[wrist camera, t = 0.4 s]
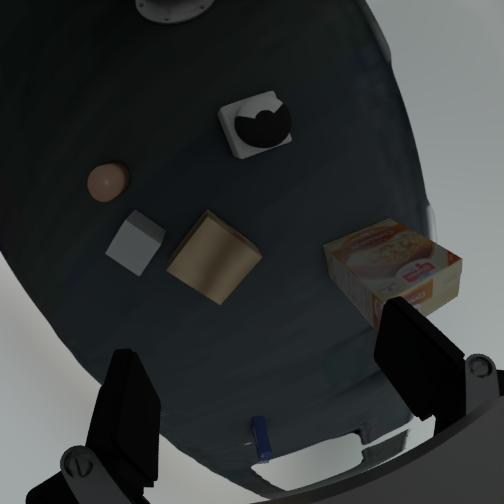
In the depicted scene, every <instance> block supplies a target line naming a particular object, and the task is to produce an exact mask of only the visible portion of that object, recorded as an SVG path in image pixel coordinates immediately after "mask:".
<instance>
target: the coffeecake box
mask: <svg viewBox="0 0 504 504" xmlns="http://www.w3.org/2000/svg"><path fill="white" fill-rule="evenodd" d="M323 248H324V252H325V256H326V262H327V267H328V272H329V276H330V278H331V279H332V280H333V281H334V282H335V283H336V284H337V286H338V287H339V288H340V289H341V290H342V291H343V292H344V294H345V295H346V296H347V297H348V298H349V299H350V301H351V302H352V303H353V304H354V305H355V306H356V308H357V309H358V310H359V311H360V312H361V313H362V315H363V316H364V317H365V318H366V319H367V321H368V322H369V323H370V324H371V325H372V327H373V328H374V329H375V330H376V331H377V333H378V331H379V326H380V321H381V315H382V309H383V306H384V304H386V301H387V300H388V299H391V298H394V297H397V296H401V297H403V298H404V299H405V300H406V301H408V302H409V303H410V304H411V305H412V306H413V307H414V308H416V309H417V310H418V311H419V312H420V313H421V314H422V315H423V316H424V317H426V316H428V315H429V314H431V313H432V312H434V311H435V310H437V309H438V308H440V307H442V306H443V305H445V304H446V303H447V302H449V301H451V300H452V299H454V298H455V297H457V296H458V291H459V283H460V275H461V272H462V258H460V257H458V256H457V255H455V254H453V253H452V252H450V251H448V250H447V249H445V248H443V247H441V246H440V245H438V244H436V243H434V242H433V241H431V240H429V239H427V238H426V237H424V236H422V235H420V234H418V233H416V232H415V231H413V230H411V229H409V228H407V227H405V226H403V225H401V224H399V223H397V222H395V221H394V220H392V219H390V218H388V219H385V220H383V221H381V222H378V223H376V224H373V225H371V226H368V227H366V228H364V229H361V230H359V231H356V232H354V233H351V234H349V235H347V236H344V237H342V238H339V239H337V240H334V241H332V242H329V243H327V244H324V245H323Z"/></svg>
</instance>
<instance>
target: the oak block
mask: <svg viewBox="0 0 504 504" xmlns="http://www.w3.org/2000/svg"><path fill="white" fill-rule="evenodd" d="M261 258H262V256H261V254H260V252H259V250H258V248H257V246H256V245H254V244H253V243H252V242H250V241H249V240H248V239H246V238H245V237H244V236H243V235H241V234H240V233H239V232H237V231H236V230H235V229H233V228H232V227H231V226H229V225H228V224H227V223H225V222H224V221H223V220H221V219H220V218H219V217H217V216H216V215H215V214H213V213H212V212H211V211H209V210H208V209H207V210H206V211H205V212H204V213H203V215H202V216H201V217H200V218H199V220H198V221H197V222H196V223H195V225H194V226H193V227H192V229H191V230H190V231H189V232H188V234H187V235H186V236H185V238H184V239H183V240H182V242H181V243H180V244H179V246H178V247H177V248H176V249H175V251H174V252H173V253H172V255H171V256H170V258H169V261H168V266H167V270H166V271H168V272H169V273H171V274H172V275H174V276H175V277H177V278H178V279H180V280H181V281H183V282H185V283H186V284H188V285H189V286H191V287H192V288H194V289H196V290H197V291H199V292H200V293H202V294H203V295H205V296H207V297H208V298H210V299H211V300H213V301H215V302H216V303H218V304H220V305H221V303H222V302H223V301H224V300H225V299H226V298H227V297H228V296H229V294H230V293H231V292H232V291H233V290H234V289H235V288H236V287H237V285H238V284H239V283H240V282H241V281H242V280H243V279H244V278H245V276H246V275H247V274H248V273H249V272H250V271H251V270H252V268H253V267H254V266H255V265H256V264H257V263H258V262H259V261H260V259H261Z"/></svg>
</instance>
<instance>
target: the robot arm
mask: <svg viewBox="0 0 504 504" xmlns="http://www.w3.org/2000/svg"><path fill="white" fill-rule="evenodd" d="M214 1H215V0H136V1H135V2H136V7H137V9H138V11H139V13H140V15H141V16H143V17H144V18H145V19H146V20H148V21H150V22H153V23H156V24H163V25H173V24H180V23H184V22H188V21H190V20H193V19H195V18H197V17H199V16H200V15H202V14H203V13H205V12H206V11H207V10H208V9H209V8H210V7H211V6H212V4H213V2H214ZM142 6H143V7H142ZM201 8H203V9H201ZM166 20H167V21H166ZM464 356H465V354H464V353H463V352H462V351H461V350H460V349H459V348H458V347H457V346H456V345H455V344H454V343H453V342H451V341H450V340H449V339H448V338H447V337H446V336H445V335H444V334H443V333H442V332H441V331H440V330H439V329H438V328H437V327H435V326H434V325H433V324H432V323H431V322H430V321H429V320H428V319H427V318H426V317H424V316H423V315H422V314H421V313H420V312H419V311H418V310H417V309H416V308H414V307H413V306H412V305H411V304H410V303H409V302H408V301H406V300H405V299H404V298H403V297H401V296H397V297H394V298H391V299H388V300H387V301H386V304H384V306H383V309H382V315H381V321H380V326H379V331H378V336H377V341H376V346H375V350H374V359H375V362H376V363H377V364H378V366H379V367H380V368H381V370H382V371H383V373H384V374H385V375H386V377H387V378H388V379H389V381H390V382H391V384H392V385H393V386H394V388H395V389H396V390H397V392H398V393H399V395H400V396H401V397H402V399H403V400H404V402H405V403H406V404H407V406H408V407H409V409H410V410H411V412H412V413H413V414H414V416H416V417H419V418H420V419H421V421H424V420H426V419H428V418H429V417H431V416H432V415H434V416H435V418H436V421H435V429H434V435H433V437H432V438H430V439H429V440H427V441H425V442H424V443H422V444H420V445H418V446H417V447H415V448H413V449H411V450H409V451H408V452H406V453H404V454H402V455H400V456H398V457H396V458H394V459H392V460H390V461H388V462H386V463H383V464H381V465H379V466H377V467H374V468H372V469H370V470H367V471H365V472H363V473H360V474H358V475H355V476H353V477H350V478H347V479H345V480H342V481H339V482H336V483H333V484H330V485H327V486H324V487H321V488H317V489H314V490H311V491H307V492H303V493H300V494H296V495H292V496H287V497H283V498H278V499H274V500H269V501H263V502H257V503H252V504H504V370H497V369H496V367H495V364H494V362H493V361H492V360H491V359H490V358H489V357H487V356H486V355H483V354H473V355H470V356H469V357H468V358H467V359H466V361H465V360H464V359H463V357H464ZM160 412H161V403H160V399H159V397H158V395H157V393H156V391H155V389H154V387H153V385H152V383H151V381H150V379H149V377H148V375H147V373H146V371H145V369H144V367H143V365H142V363H141V361H140V359H139V356H138V354H137V353H136V352H132V350H131V349H117V350H115V351H114V353H113V356H112V359H111V362H110V366H109V369H108V372H107V375H106V379H105V382H104V385H102V386H101V388H100V390H99V393H98V396H97V400H96V404H95V408H94V411H93V415H92V419H91V423H90V427H89V431H88V436H87V440H86V444H85V446H81V445H80V446H73V447H71V448H69V449H68V450H66V451H65V452H64V454H63V456H62V458H61V460H60V468H61V471H60V472H58V473H57V474H55V475H54V476H52V477H51V478H49V479H47V480H46V481H44V482H43V483H41V484H39V485H38V486H36V487H34V488H33V489H31V490H30V491H29V492H28V494H27V496H26V504H150V503H149V501H148V500H147V499H146V498H145V497H144V496H143V494H144V487H154V481H157V479H158V450H159V429H160Z"/></svg>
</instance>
